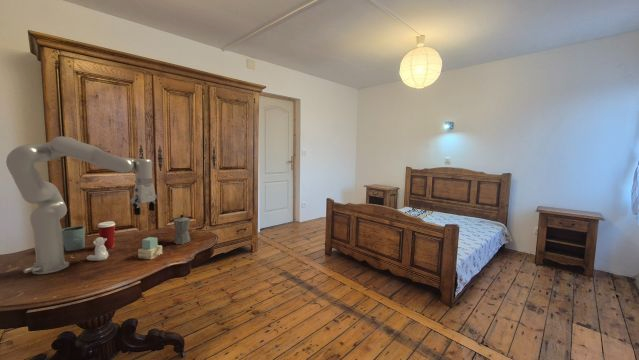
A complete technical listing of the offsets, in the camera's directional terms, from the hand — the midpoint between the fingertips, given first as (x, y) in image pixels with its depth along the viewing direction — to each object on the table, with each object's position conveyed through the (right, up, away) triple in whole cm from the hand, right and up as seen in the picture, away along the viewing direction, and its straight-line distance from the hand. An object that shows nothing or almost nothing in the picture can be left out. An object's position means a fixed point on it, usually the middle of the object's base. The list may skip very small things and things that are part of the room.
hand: (144, 212), depth 144 cm
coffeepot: (+7, -22, +26) cm, 35 cm away
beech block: (+1, -25, +3) cm, 25 cm away
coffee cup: (-30, -23, +13) cm, 40 cm away
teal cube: (+1, -20, +2) cm, 20 cm away
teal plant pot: (-48, -22, +10) cm, 54 cm away
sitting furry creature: (-22, -25, -3) cm, 33 cm away
